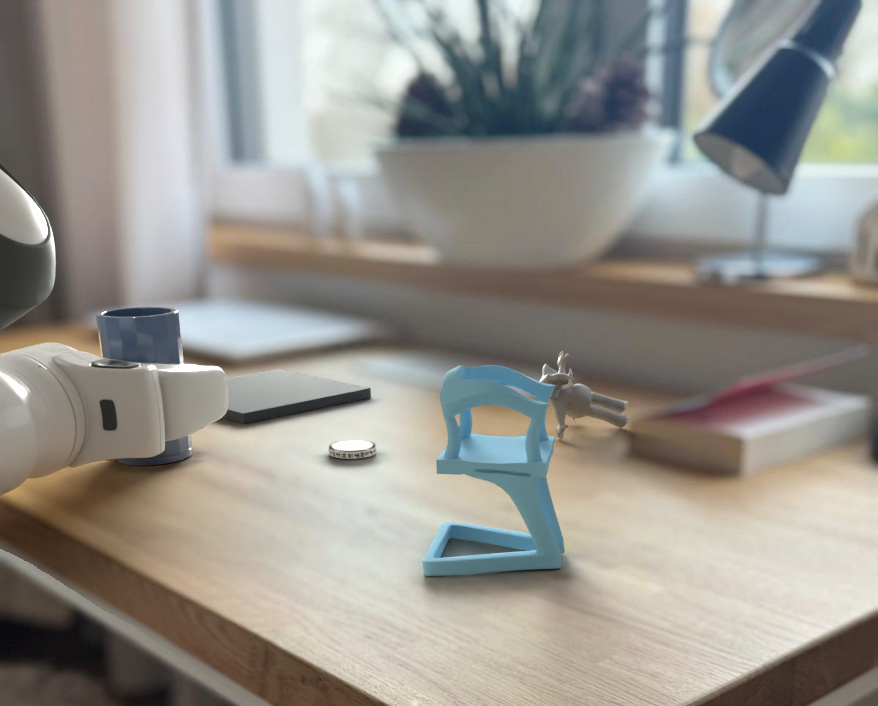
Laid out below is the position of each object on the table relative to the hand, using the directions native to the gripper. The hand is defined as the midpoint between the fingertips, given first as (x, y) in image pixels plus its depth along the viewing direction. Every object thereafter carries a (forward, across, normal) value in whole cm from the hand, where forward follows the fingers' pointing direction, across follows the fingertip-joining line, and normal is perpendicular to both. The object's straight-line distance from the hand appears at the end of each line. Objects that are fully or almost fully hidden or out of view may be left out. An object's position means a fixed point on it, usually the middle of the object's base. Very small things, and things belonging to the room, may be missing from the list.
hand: (150, 371), depth 90 cm
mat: (+22, -1, -7) cm, 23 cm away
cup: (-1, 0, -7) cm, 7 cm away
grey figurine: (+18, +33, -7) cm, 38 cm away
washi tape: (+4, +16, -7) cm, 18 cm away
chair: (-17, +34, -7) cm, 39 cm away
